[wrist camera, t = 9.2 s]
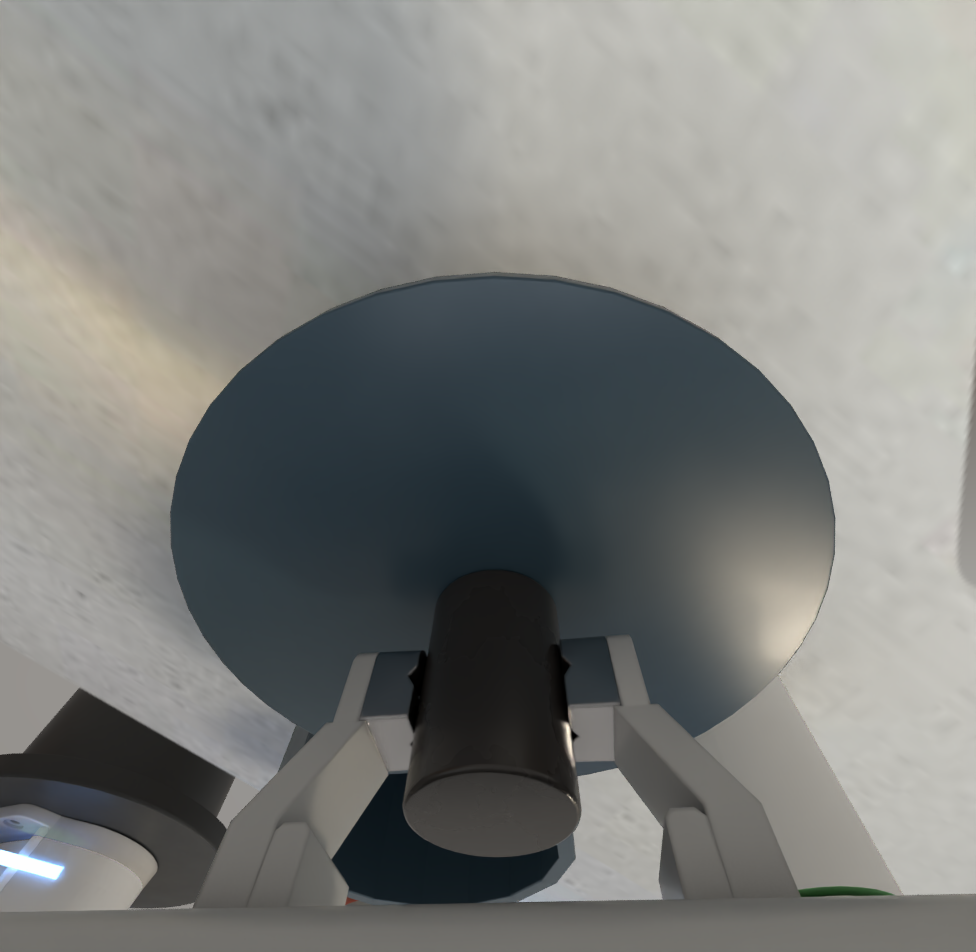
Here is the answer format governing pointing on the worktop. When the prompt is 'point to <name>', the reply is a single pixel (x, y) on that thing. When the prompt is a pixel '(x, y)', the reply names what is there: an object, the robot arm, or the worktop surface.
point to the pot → (429, 857)
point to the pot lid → (501, 527)
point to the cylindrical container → (799, 797)
